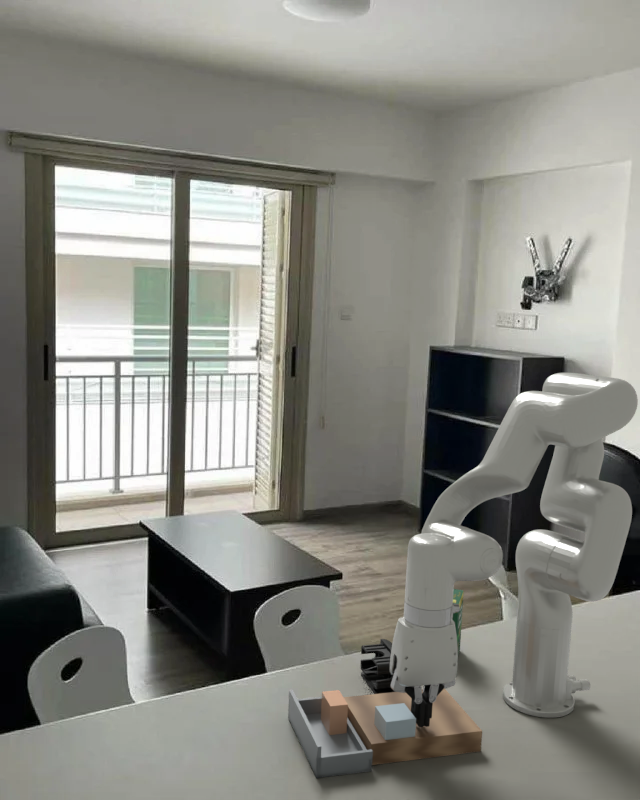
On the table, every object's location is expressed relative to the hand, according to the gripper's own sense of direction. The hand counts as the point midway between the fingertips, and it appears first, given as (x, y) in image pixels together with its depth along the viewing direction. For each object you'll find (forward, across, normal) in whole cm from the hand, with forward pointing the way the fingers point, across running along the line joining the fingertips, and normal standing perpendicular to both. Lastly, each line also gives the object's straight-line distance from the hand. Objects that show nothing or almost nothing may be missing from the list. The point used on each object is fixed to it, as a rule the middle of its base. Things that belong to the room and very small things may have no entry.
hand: (420, 722), depth 131 cm
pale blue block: (+1, +4, 0) cm, 4 cm away
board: (+4, 0, -5) cm, 6 cm away
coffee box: (+4, -20, -30) cm, 36 cm away
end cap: (+5, -3, -22) cm, 23 cm away
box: (+4, +14, -5) cm, 15 cm away
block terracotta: (+2, +10, -8) cm, 13 cm away
